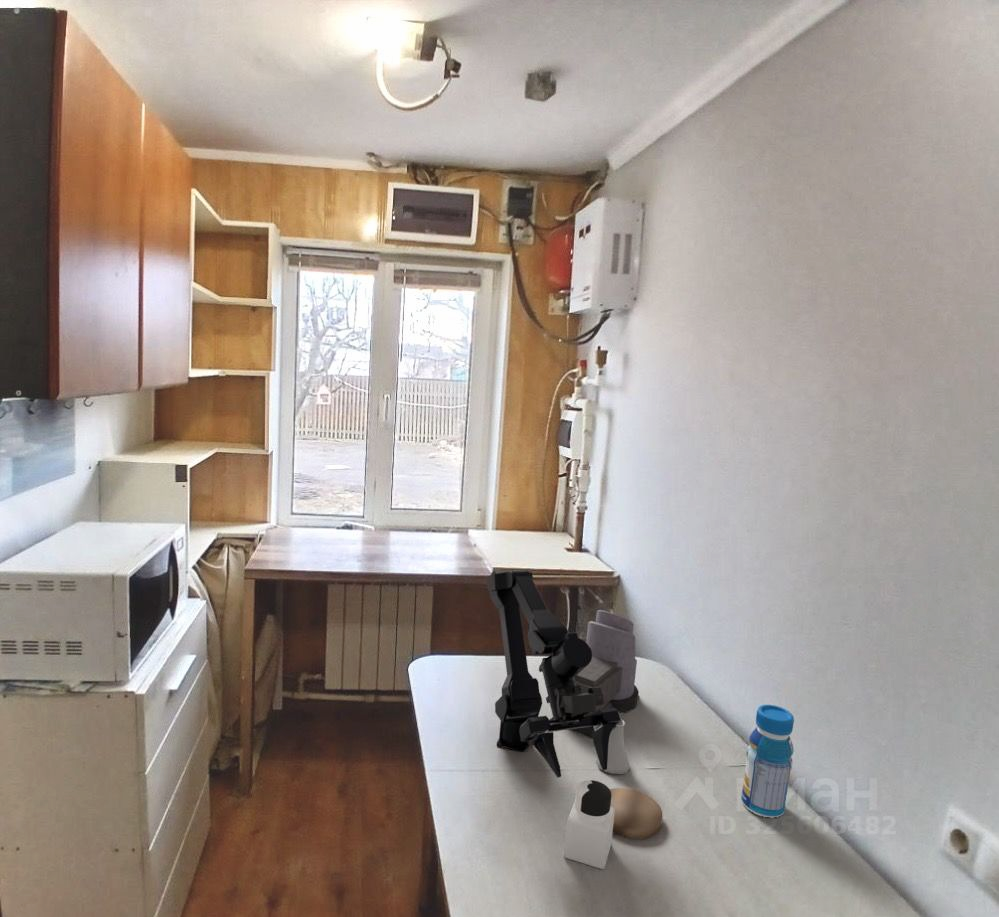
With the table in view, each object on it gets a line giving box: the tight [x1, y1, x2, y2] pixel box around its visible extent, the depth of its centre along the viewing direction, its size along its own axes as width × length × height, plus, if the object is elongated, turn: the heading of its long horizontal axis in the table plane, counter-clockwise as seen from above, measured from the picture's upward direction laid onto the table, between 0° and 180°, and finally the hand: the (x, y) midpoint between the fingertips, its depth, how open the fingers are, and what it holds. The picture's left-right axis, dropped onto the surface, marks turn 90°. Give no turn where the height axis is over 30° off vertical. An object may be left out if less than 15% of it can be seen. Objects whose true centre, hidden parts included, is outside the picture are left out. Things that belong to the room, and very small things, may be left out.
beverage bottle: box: [740, 704, 795, 819], centre depth 134 cm, size 8×8×20 cm
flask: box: [595, 719, 631, 775], centre depth 144 cm, size 7×7×10 cm
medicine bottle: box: [563, 779, 615, 870], centre depth 118 cm, size 7×7×12 cm
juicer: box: [549, 609, 641, 740], centre depth 169 cm, size 30×16×24 cm, turn 147°
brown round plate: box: [609, 787, 663, 840], centre depth 128 cm, size 12×12×2 cm
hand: (582, 773), depth 121 cm, fingers open, 9 cm apart
